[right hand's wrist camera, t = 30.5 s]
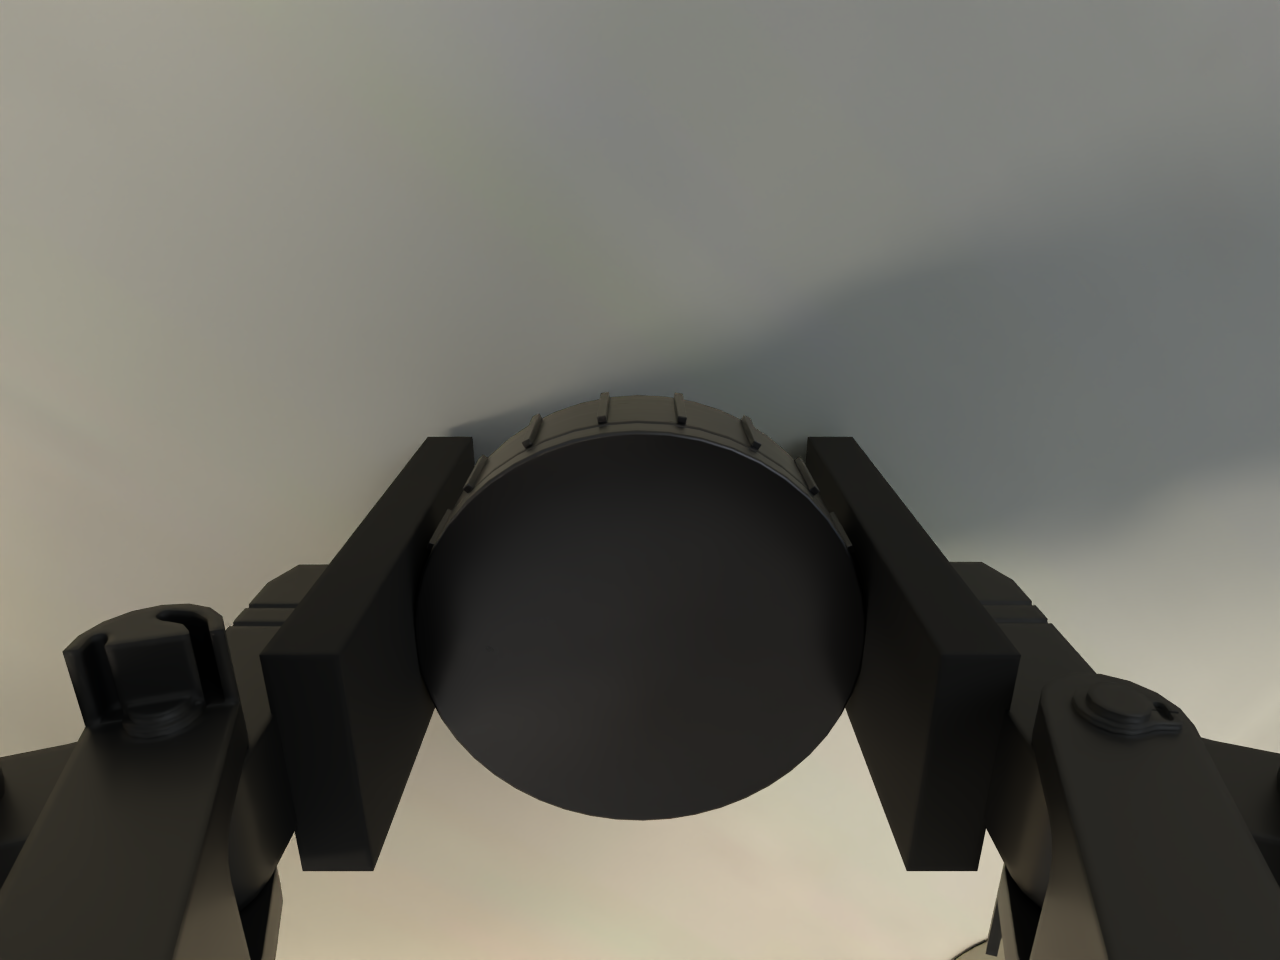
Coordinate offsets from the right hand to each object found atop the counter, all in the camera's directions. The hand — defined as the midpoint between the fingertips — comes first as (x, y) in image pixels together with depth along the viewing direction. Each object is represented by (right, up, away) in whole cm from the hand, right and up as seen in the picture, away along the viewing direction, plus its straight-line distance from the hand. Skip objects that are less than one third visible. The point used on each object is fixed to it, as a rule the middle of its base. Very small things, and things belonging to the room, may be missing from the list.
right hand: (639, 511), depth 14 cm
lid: (0, -1, -4) cm, 4 cm away
